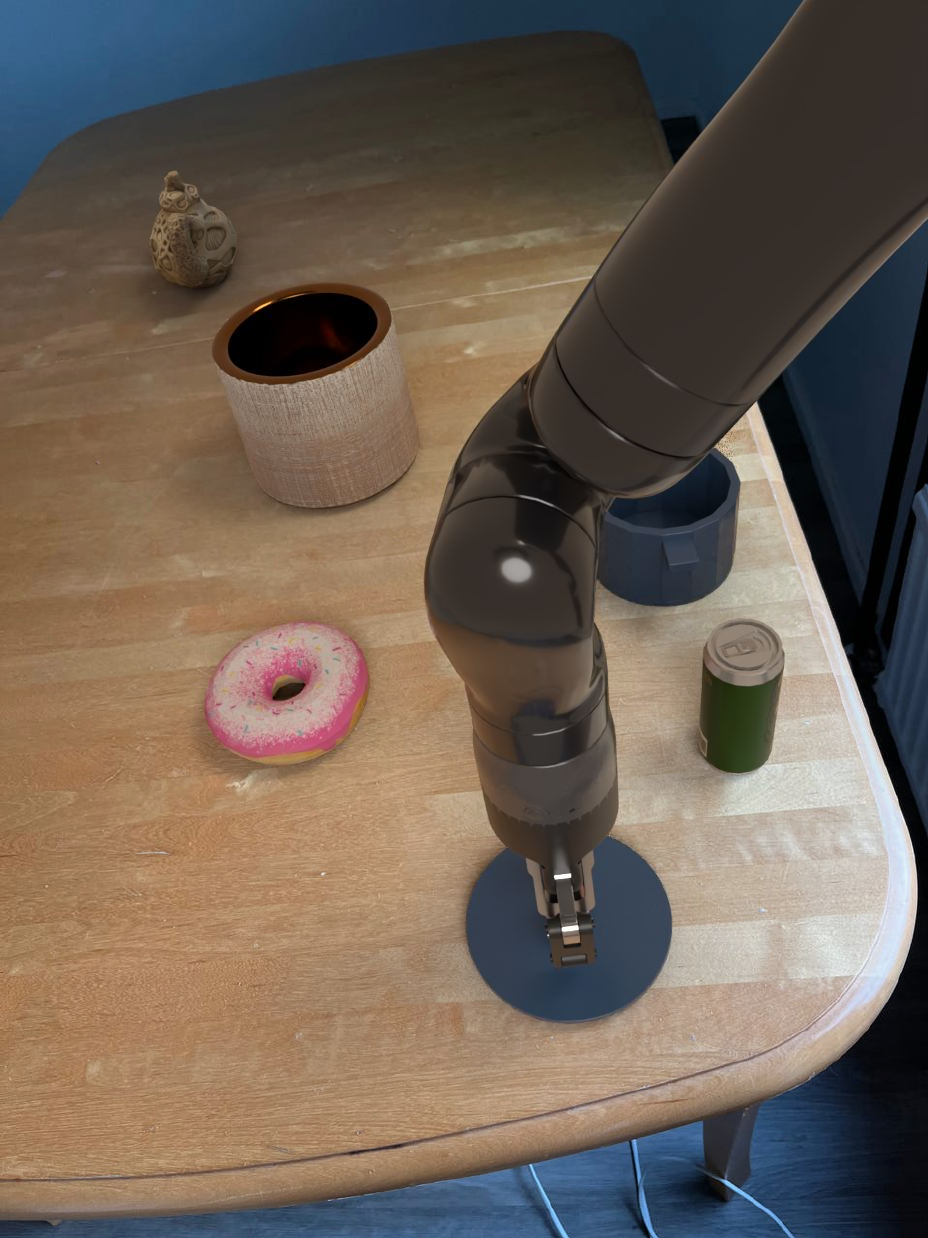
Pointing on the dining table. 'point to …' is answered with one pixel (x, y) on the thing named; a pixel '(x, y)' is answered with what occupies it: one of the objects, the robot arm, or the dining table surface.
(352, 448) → the planter
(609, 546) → the blue cooking pot
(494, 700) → the robot arm
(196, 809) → the dining table surface
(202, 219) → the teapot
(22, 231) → the dining table surface
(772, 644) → the beer can
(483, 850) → the dining table surface
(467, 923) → the lid
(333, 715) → the donut
